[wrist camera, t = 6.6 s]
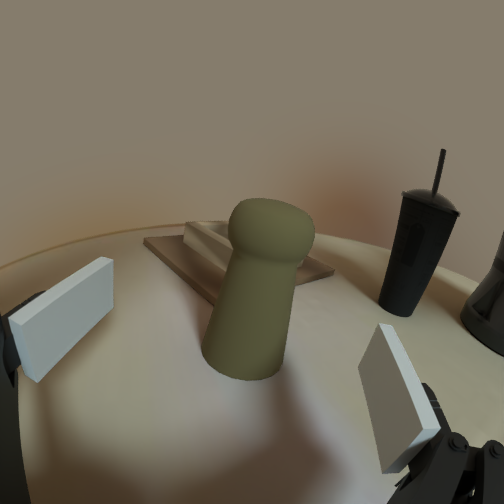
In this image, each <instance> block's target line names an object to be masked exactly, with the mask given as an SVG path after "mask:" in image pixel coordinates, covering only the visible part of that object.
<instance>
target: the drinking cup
mask: <svg viewBox="0 0 504 504" xmlns="http://www.w3.org/2000/svg"><path fill="white" fill-rule="evenodd" d="M445 155H446V150H445V149H441V152H440V157H439V161H438V166H437V171H436V175H435V179H434V184H433V188H432V191H431V190H427V189H413V190H409V191H407V192H405V191H402V193H401V195H402V196H403V199H402V205H401V210H400V215H399V220H398V225H397V230H396V234H395V239H394V243H393V247H392V251H391V256H390V260H389V264H388V267H387V271H386V275H385V279H384V282H383V286H382V289H381V293H380V296H379V300H378V303H379V305H380V306H381V307H382V308H383V309H385V310H386V311H388V312H390V313H392V314H394V315H397V316H401V317H409V316H411V315H412V313H413V311H414V309H415V308H416V306H417V304H418V302H419V300H420V298H421V296H422V295H423V293H424V291H425V289H426V287H427V285H428V283H429V281H430V279H431V277H432V275H433V273H434V270H435V268H436V266H437V264H438V262H439V260H440V257H441V255H442V253H443V250H444V248H445V246H446V244H447V241H448V239H449V237H450V234H451V232H452V229H453V227H454V224H455V222H456V219H457V217H460V214H461V213H460V212H459V211H457V209H456V208H455V206H454V205H453V204H452V203H451V202H450V201H449V200H448V199H447V198H445V197H444V196H443V195H441V194H439V193H437V190H438V186H439V182H440V178H441V173H442V169H443V164H444V159H445Z"/></svg>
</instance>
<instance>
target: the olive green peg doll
mask: <svg viewBox="0 0 504 504" xmlns="http://www.w3.org/2000/svg"><path fill="white" fill-rule="evenodd" d="M314 238H315V228H314V224H313V221H312V218H311V217H310V216H309V215H308V214H307V213H306V212H305V211H303V210H301V209H299V208H297V207H295V206H293V205H291V204H288V203H285V202H282V201H278V200H272V199H263V198H255V199H246V200H244V201H241V202H240V203H239V204H238V205H237V206H236V207H235V209H234V210H233V212H232V214H231V217H230V219H229V224H228V239H229V241H230V243H231V246H232V248H233V252H232V255H231V258H230V261H229V264H228V267H227V270H226V273H225V276H224V279H223V282H222V285H221V288H220V291H219V294H218V297H217V300H216V303H215V306H214V309H213V312H212V315H211V318H210V321H209V324H208V328H207V331H206V334H205V337H204V340H203V343H202V346H201V349H202V354H203V357H204V358H205V360H206V361H207V363H208V364H209V365H210V366H211V367H213V368H214V369H215V370H217V371H218V372H219V373H222V374H224V375H226V376H229V377H231V378H235V379H240V380H246V381H249V380H261V379H265V378H268V377H271V376H272V375H274V374H275V373H276V372H278V371H279V369H280V367H281V365H282V363H283V357H284V351H285V345H286V339H287V333H288V327H289V321H290V314H291V308H292V301H293V294H294V287H295V280H296V273H297V265H298V264H299V263H300V262H301V261H302V260H303V259H305V257H306V256H307V254H308V253H309V251H310V249H311V247H312V244H313V241H314Z"/></svg>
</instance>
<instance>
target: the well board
mask: <svg viewBox="0 0 504 504" xmlns="http://www.w3.org/2000/svg"><path fill="white" fill-rule="evenodd" d="M228 224H229V221H206V222H205V221H204V222H186V225H185V232H184V235H178V236H163V237H148V238H144V243H143V244H144V245H145V246H146V247H148V248H149V249H150V250H151V251H152V252H153V253H154V254H155V255H156V256H157V257H159V258H160V259H161V260H162V261H163V262H164V263H165V264H166V265H167V266H169V267H170V268H171V269H172V270H173V271H174V272H175V273H176V274H178V275H179V276H180V277H181V278H182V279H183V280H185V281H186V282H187V283H188V284H189V285H190V286H191V287H193V288H194V289H195V290H196V291H197V292H198V293H200V294H201V295H202V296H203V297H204V298H206V299H207V300H208V301H209V302H210V303H211V304H213V305H214V306H215V303H216V300H217V297H218V294H219V291H220V288H221V285H222V282H223V279H224V276H225V273H226V270H227V267H228V264H229V261H230V258H231V255H232V252H233V248H232V246H231V243H230V241H229V239H228ZM334 271H335V270H334V269H332V268H330V267H328V266H326V265H324V264H322V263H320V262H318V261H316V260H314V259H312V258H310V257H308V256H306V257H305V259H303V260H302V261H301V262H300V263H299V264H298V265H297V273H296V280H295V286H296V285H300V284H304V283H307V282H311V281H314V280H318V279H321V278H324V277H328V276H331V275H333V274H334Z"/></svg>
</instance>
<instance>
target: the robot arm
mask: <svg viewBox="0 0 504 504" xmlns="http://www.w3.org/2000/svg"><path fill="white" fill-rule="evenodd" d="M113 262H114V260H112V259H109V258H106V257H102V256H101V257H99V258H98V259H96V260H94V261H93V262H91V263H89V264H88V265H86V266H85V267H83V268H81V269H80V270H78V271H77V272H75V273H73V274H72V275H70V276H69V277H67V278H66V279H64V280H63V281H61V282H59V283H58V284H56V285H55V286H53V287H52V288H50V289H49V290H47V291H46V290H45V291H42V292H39V293H36V294H34V295H33V296H31V297H30V298H28V300H25V301H24V302H22V303H21V304H19V305H18V306H16V307H15V308H13V309H12V310H11V311H9V312H8V313H6V314H5V315H3V316H2V317H1V314H0V504H31V501H30V496H29V492H28V487H27V482H26V477H25V471H24V464H23V457H22V449H21V440H20V429H19V412H18V372H17V369H16V368H17V367H18V366H19V365H22V368H23V371H24V374H25V375H26V376H28V377H29V378H31V379H32V380H34V381H35V382H37V383H38V382H39V381H40V380H41V379H42V378H43V377H44V376H45V375H46V374H47V373H48V372H49V371H50V370H51V369H52V368H53V367H54V366H55V364H56V363H57V362H58V361H59V360H60V359H61V358H62V357H63V356H64V355H65V354H66V353H67V352H68V351H69V350H70V349H71V348H72V347H73V346H74V345H75V344H76V343H77V342H78V341H79V340H80V339H81V338H82V337H83V336H84V335H85V334H86V333H87V332H88V331H89V330H90V329H92V328H93V327H94V326H95V325H96V324H97V323H98V322H99V321H100V320H101V319H102V318H103V317H104V316H105V315H106V314H107V313H108V312H109V311H110V310H111V309H112V308H113V307H114V304H113ZM461 319H462V321H463V323H464V324H465V326H466V327H467V328H468V329H469V330H470V332H471V333H472V334H474V335H475V336H476V337H477V338H478V339H479V340H480V341H482V342H483V343H484V344H486V345H487V346H488V347H490V348H491V349H493V350H495V351H496V352H498V353H500V354H502V355H504V232H503V235H502V238H501V242H500V244H499V247H498V251H497V253H496V256H495V259H494V262H493V265H492V267H491V269H490V271H489V273H488V274H487V275H486V277H485V278H484V280H483V281H482V282H481V283H480V285H479V286H478V287H477V288H476V290H475V291H474V292H473V293H472V295H471V296H470V297H469V298H468V299H467V301H466V303H465V305H464V307H463V310H462V312H461ZM358 370H359V374H360V377H361V381H362V385H363V389H364V393H365V397H366V401H367V405H368V409H369V414H370V418H371V422H372V427H373V431H374V436H375V440H376V445H377V450H378V455H379V460H380V465H381V470H382V474H388V473H399V472H400V471H401V470H403V469H404V468H405V467H406V466H407V465H408V467H409V470H410V472H409V473H408V474H407V475H405V476H404V477H403V478H402V479H401V480H400V481H399V482H398V483H397V484H396V485H395V487H397V486H398V485H399V484H400V485H399V486H398V488H397V489H396V491H395V492H394V494H393V495H392V497H391V498H390V500H389V501H388V503H387V504H504V446H503V445H502V444H501V443H500V442H497V441H495V440H490V441H487V442H486V444H485V445H484V446H483V447H482V448H477V447H471V446H469V444H468V441H467V440H466V439H465V437H463V436H462V435H461V434H459V433H456V432H451V429H450V427H449V425H448V422H447V420H446V418H445V416H444V413H443V411H442V409H440V405H439V403H438V402H437V398H436V396H435V394H434V392H433V391H432V389H431V388H430V387H429V386H428V385H427V384H426V383H421V382H420V380H419V378H418V376H417V374H416V372H415V370H414V368H413V365H412V363H411V361H410V359H409V357H408V355H407V353H406V351H405V349H404V347H403V345H402V344H401V342H400V340H399V338H398V336H397V334H396V332H395V330H394V328H393V326H392V325H387V324H381V323H378V325H377V328H376V330H375V332H374V334H373V337H372V339H371V341H370V343H369V345H368V347H367V349H366V351H365V354H364V356H363V358H362V360H361V362H360V364H359V366H358ZM474 489H475V492H474V495H473V496H472V493H473V490H474Z"/></svg>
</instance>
